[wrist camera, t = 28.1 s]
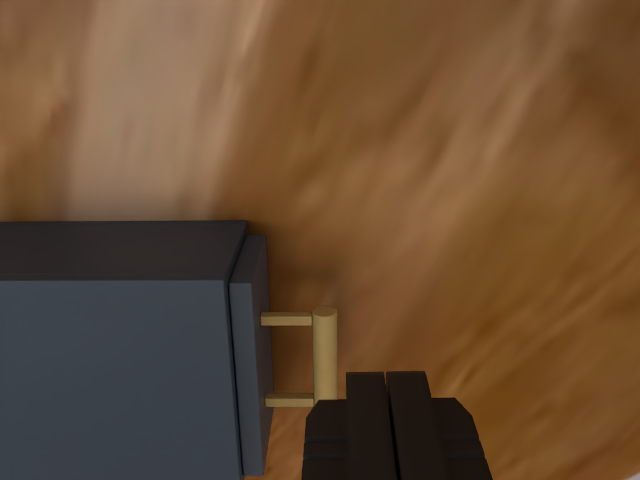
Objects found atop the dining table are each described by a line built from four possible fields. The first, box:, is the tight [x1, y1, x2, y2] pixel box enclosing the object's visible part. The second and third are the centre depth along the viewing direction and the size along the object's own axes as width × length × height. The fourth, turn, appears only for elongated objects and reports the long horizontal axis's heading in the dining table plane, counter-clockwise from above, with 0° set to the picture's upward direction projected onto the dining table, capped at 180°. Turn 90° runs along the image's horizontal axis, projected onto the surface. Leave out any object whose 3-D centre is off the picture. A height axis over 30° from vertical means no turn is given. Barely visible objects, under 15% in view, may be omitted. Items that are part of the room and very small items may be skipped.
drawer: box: [227, 235, 337, 476], centre depth 36 cm, size 20×12×7 cm, turn 91°
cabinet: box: [0, 221, 248, 480], centre depth 36 cm, size 17×14×9 cm
